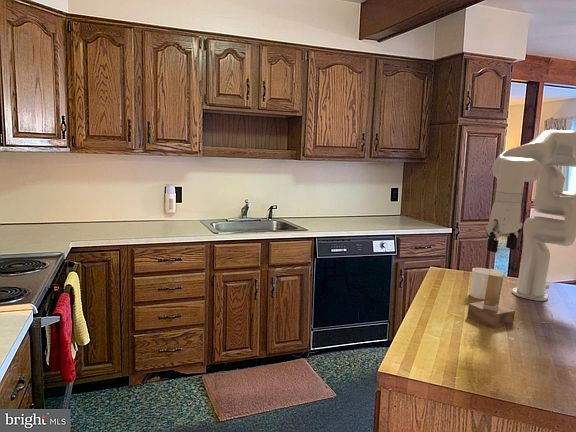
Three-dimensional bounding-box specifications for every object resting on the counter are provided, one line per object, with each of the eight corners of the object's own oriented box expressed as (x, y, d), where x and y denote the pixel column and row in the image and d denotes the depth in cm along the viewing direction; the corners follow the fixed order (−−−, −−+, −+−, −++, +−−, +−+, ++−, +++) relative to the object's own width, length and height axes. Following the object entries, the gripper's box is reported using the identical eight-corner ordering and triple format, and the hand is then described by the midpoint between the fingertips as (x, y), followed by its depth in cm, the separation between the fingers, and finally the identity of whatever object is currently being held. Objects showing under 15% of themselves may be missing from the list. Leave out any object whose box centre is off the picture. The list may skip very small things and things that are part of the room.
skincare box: (484, 301, 149) (490, 268, 146) (498, 305, 147) (504, 270, 144) (482, 309, 144) (488, 274, 141) (497, 312, 142) (503, 277, 139)
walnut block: (487, 313, 154) (489, 300, 153) (513, 325, 145) (515, 310, 144) (467, 317, 149) (468, 303, 148) (492, 329, 140) (494, 314, 140)
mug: (492, 305, 161) (496, 278, 160) (468, 300, 165) (471, 274, 163) (492, 295, 172) (495, 270, 170) (469, 291, 176) (472, 266, 174)
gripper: (514, 195, 147) (507, 245, 150) (480, 197, 139) (474, 249, 142) (536, 198, 141) (528, 250, 144) (502, 200, 132) (495, 255, 135)
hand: (501, 250), depth 143 cm, fingers open, 9 cm apart
